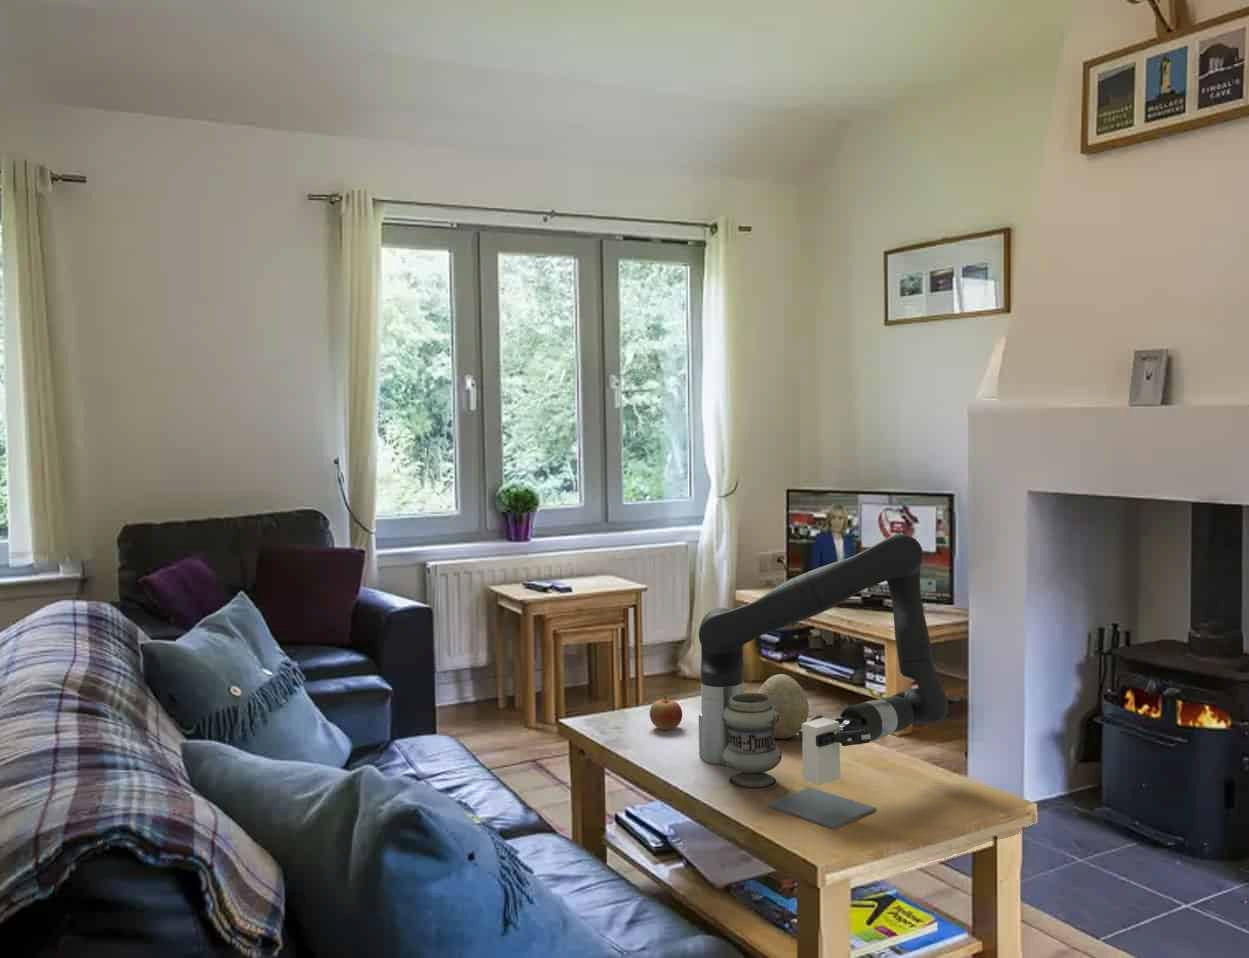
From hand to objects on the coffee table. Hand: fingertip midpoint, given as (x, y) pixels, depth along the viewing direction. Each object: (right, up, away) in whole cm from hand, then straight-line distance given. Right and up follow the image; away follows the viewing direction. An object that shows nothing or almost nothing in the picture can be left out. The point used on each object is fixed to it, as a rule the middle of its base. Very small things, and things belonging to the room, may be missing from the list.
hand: (808, 738), depth 200 cm
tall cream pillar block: (+3, -8, +2) cm, 9 cm away
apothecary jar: (-8, -14, +18) cm, 24 cm away
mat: (+3, -14, +3) cm, 15 cm away
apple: (-25, -12, +58) cm, 64 cm away
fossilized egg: (+2, -12, +48) cm, 50 cm away
